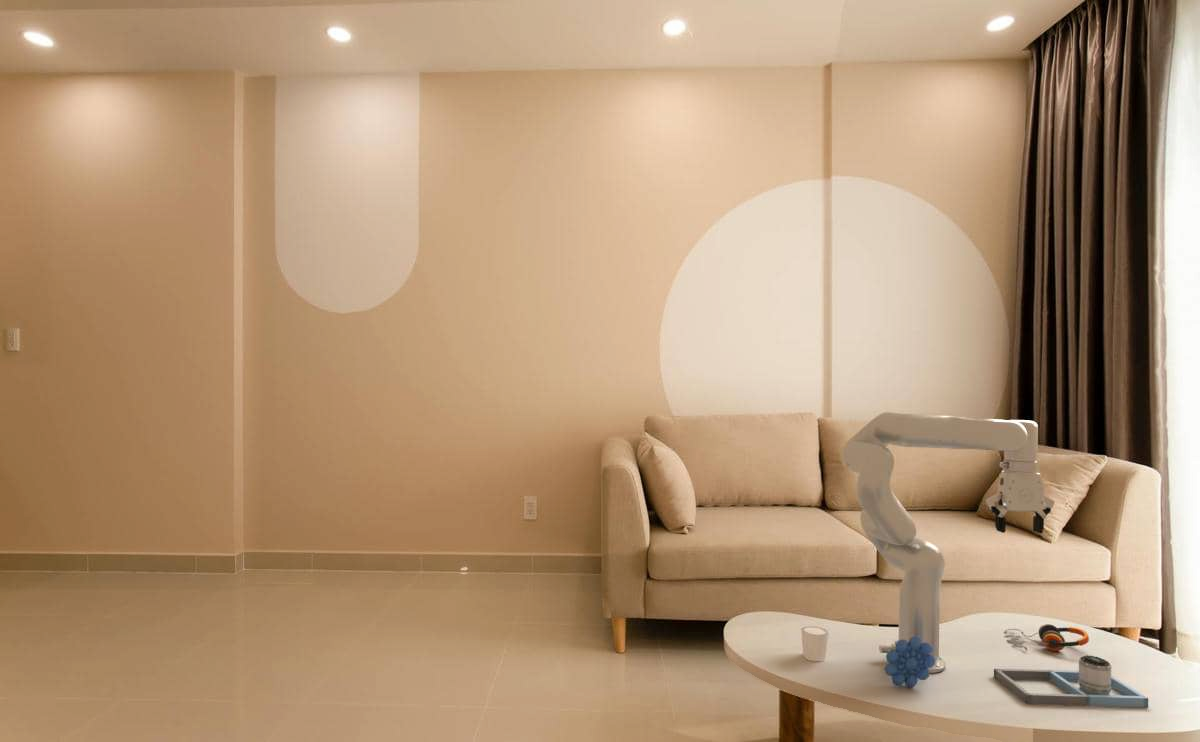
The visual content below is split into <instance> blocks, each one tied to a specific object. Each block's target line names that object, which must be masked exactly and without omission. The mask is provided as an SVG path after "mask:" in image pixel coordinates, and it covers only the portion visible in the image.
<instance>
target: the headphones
mask: <svg viewBox="0 0 1200 742" xmlns="http://www.w3.org/2000/svg"><path fill="white" fill-rule="evenodd" d="M1011 630H1013V631H1014V630H1015V631H1020V633H1021V635H1022V636H1023V637H1024V638H1025V639H1027V640H1030V641H1032V642H1037V643H1038V644H1039V643H1040V644H1042V645H1043V646H1044V647H1045V648H1046V649H1047V650H1049V651H1052V652H1060V651H1062V650H1063V649H1064V648H1066V647H1077V646H1084V645H1086V644H1087V643H1089V641H1090V640H1089V639H1090V637H1089V635H1088V633H1087V632H1086V631H1085V630H1084V629H1081V628H1078V627H1072V626H1069V627H1056V626H1055V625H1053V624H1050V623H1049V624H1042V625H1041V626H1040V627H1039V629H1038V632H1035V633H1034V634H1032V635H1026V634H1024V632H1023V631H1022V630H1021V629H1018V628H1008V629H1005V630H1004V634H1007V635H1003V637H1004V638H1010V640H1009V639H1006V642H1007V643H1008V644H1011V647H1013V648H1024V650H1025V651H1026V652H1027V651H1028V649H1027V647H1026V646H1023V645H1024V644H1026V641H1024V640H1023V641H1022V640H1021V641H1020V639H1021V638H1022V636H1019V635H1015V633H1013V632H1007V631H1011ZM1062 632H1063V633H1064V632H1066V633H1067V632H1068V633H1071V634H1076V635H1079V636H1082V637H1081V638H1080V639H1077V640H1076V641H1066V640H1065V638H1064V636H1063V635H1062V634H1061V633H1062ZM1008 634H1009V635H1008ZM1037 634H1038V636H1039V638H1040V640H1041V641H1039V640H1034V639H1031V637H1034V636H1035V635H1037ZM1029 637H1030V638H1029Z"/></svg>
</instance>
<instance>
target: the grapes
mask: <svg viewBox="0 0 1200 742" xmlns="http://www.w3.org/2000/svg"><path fill="white" fill-rule="evenodd" d="M898 640H899V639H898ZM898 640H897V641H898ZM895 647H896V650H890V651H889V652H888V653H886V655H885V658H886V661H887V662H888V663H887V664H886V665H885V667H884V673H885V674H886V675H887V676H888V677H891V681H892V683H893V684H894V685H895V686H902V685H903V684H904V685H905V686H906V687H908V688H913V687H915V686H916V685H917V684H918V682H919V681H925V680H927V679H928V678H929V677H930V675H931V673H930V672H929V669H928V668H930V667H932V666H933V665H934V664H935V658H934V656H933V655H930V653H931V652H932V646H931V644H929V643H922V642H921V639H920V638H919V637H912V638H911V639H910V640H909V642H907V641H906V640H903V639H901V640H899V641H898V642H897V643H896V645H895Z"/></svg>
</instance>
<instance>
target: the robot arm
mask: <svg viewBox="0 0 1200 742" xmlns="http://www.w3.org/2000/svg"><path fill="white" fill-rule="evenodd" d="M1038 440H1039V426H1038V424H1037V422H1035V421H1034V420H1025V419H1009V420H1005V419H998V418H996V419H994V418H983V419H974V418H968V417H963V416H962V417H961V416H957V415H956V416H954V415H945V414H944V415H943V414H942V415H941V414H939V415H938V414H916V413H915V414H913V413H900V412H899V413H898V412H891V411H890V412H889V411H887V412H883V413H880V414H878V415H876V416H875V417H874V418H872V419H871V420H870V421H869V422H868V423H867V424H865V425H864V426H863V427H862V428H861V429H860V430H859V431H857V433H855V434H854V435H853V436H852V437H850V439H849V440H847V442H845V444H844V445H843V447H842V448H841V452H840V460H841V462H842V464H843V466H844V467H845V468H846V469H847V470H849V471H851V472H853V473H857V474H858V478H857V482H856V490H855V491H856V498H857V500H858V502H859V503H858V504H860V506H861V508H862V510H861V513H860V515H859V516H860V517H859V520H860V525H861V528H862V530H863V532H864V534H865V535H866V536H867V538H868V539H869V541H870V542H871V543H872V545H873V546H874V548H875V549H877V551H878V553H879V554H880V555H881V556H882V558H883V559H884V560H885V561H886V562H887V563H888V564H889V565H890V566H892V567H894V568H897V569H899V571H902V572H904V575H903V579H902V581H901V583H900V586H899V592H898V593H899V594H898V640H894V643H892V644H891V645H886V644H880V645H879V646H878V650H879V652H880V654H887V653H888V652H889V651H890V650H896V647H895V645H896V643H897V642H898V641H899V640H901V639H903V640H906V641H907V642H909V640H910V639H911V638H912V637H919V638H920V639H921V642H922V643H929V644H931V646H932V652H931V653H930V655H933V656H934V658H935V664H934V665H933V666H932V667H930V668H928V669H929V672H930V674H932V673H933V674H934V673H939V672H943V671H944V670H945V669H946V661H945V660H944V659H943V658H942V657H940V621H941V620H940V617H941V614H940V612H941V611H940V610H941V609H940V608H941V607H940V605H941V601H940V598H941V586H942V579H943V576H944V571H945V564H946V563H945V558H944V555H943V553H942V551H941V550H940V549H939V548H938V547H937V546H936V545H934V544H932V543H931V542H929V541H926V540H925V539H922V538H919V537H916V536H917V527H916V523H915V521H914V520H913V518H912V516H911V515H910V514H909V513H908V511H907V510H906V509H905V508H904V506H903V505H902V503H901V501H899V499H898V498H897V496H896V494H895V493H894V492H893V490H892V487H891V477H892V474H893V472H894V468H895V458H894V455H893V453H892V451H891V450H890V449H889V448H887V447H888V446H889V445H892V446H897V447H901V448H902V447H904V448H926V449H927V448H929V449H930V448H933V449H949V450H950V449H951V450H977V451H978V450H980V451H981V450H983V451H995V452H996V451H998V452H999V451H1001V452H1003V451H1004V452H1003V453H1004V454H1003V455H1004V456H1003V457H1004V459H1003V462H1002V461H1001V462H999V467H1000V468H1002V469H1003V470H1002V471H1001V473H1000V476H999V479H998V481H999V482H998V486H997V487H998V488H997V493H996V494H993V495H992V496H989V497H987V498H986V499H985V503H986V505H987V506H988V509H989V511H991V512H992V514H993V516H995V521H994V523H995V530H996V531H997V532H999V533H1006V527H1007V526H1006V525H1007V523H1006V517H1004V516H1005V515H1006V514H1007V513H1008V511H1009V512H1010V511H1011V512H1027V513H1028V512H1029V513H1030V512H1031V513H1032V512H1033V513H1034V515H1033V518H1032V521H1033V522H1032V530H1033V531H1034V532H1035V533H1038V534H1043V533H1044V528H1045V527H1044V526H1045V519H1047V515H1049V513H1051V511H1052V509H1053V507H1054V505H1055V501H1054V500H1053V499H1051V498H1048V497H1047V496H1045V492H1044V491H1045V490H1044V483H1043V479H1042V475H1041V473H1040V472H1038V453H1039V452H1038V447H1039V445H1038V444H1039V441H1038ZM996 502H997V507H996V505H995V503H996Z"/></svg>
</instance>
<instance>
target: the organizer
mask: <svg viewBox="0 0 1200 742" xmlns="http://www.w3.org/2000/svg"><path fill="white" fill-rule="evenodd" d="M993 677H994V678H995V679H996V680H997V681H998V682H1000V683H1001V684H1002V685H1003V686H1004V687H1006V688H1008V690H1009V691H1011V692H1012V693H1014V694H1015V696H1017V697H1018V698H1019V699H1020V700H1022V701H1023V702H1025V704H1027V705H1052V706H1054V705H1056V706H1057V705H1058V706H1063V705H1064V706H1086V705H1088V706H1089V705H1093V706H1092V707H1094V706H1096V707H1097V706H1098V707H1122V708H1123V707H1124V708H1125V707H1129V708H1131V707H1132V708H1135V707H1136V708H1137V707H1138V708H1149V697H1147V696H1146V695H1144V694H1142V693H1140V692H1139V691H1137V690H1136V689H1134V688H1133V687H1131V686H1129V685H1127V684H1126V683H1124V682H1123V681H1121V680H1120V679H1118V678H1116V677H1114V676H1113V675H1111V688H1113V689H1114V690H1116V691H1118V692H1120V693H1121V694H1122V695H1110V694H1109V695H1088V694H1086V693H1084V692H1082V691H1081V690H1080V688H1078V687H1077V686H1075V685H1074V684H1072V683H1071V682H1069V681H1073V682H1074V681H1077V682H1079V670H1059V669H1058V670H1057V669H1056V670H1055V669H1054V670H1053V669H1029V668H1027V669H1022V668H1021V669H1020V668H1019V669H1018V668H993ZM1014 680H1038V681H1039V680H1042V681H1051V682H1052V683H1054V685H1056V686H1058V687H1059V688H1060V689H1061V690H1063V691H1064V692H1066V693H1042V692H1040V693H1038V692H1037V693H1036V692H1029V691H1027V690H1026V689H1025V688H1024V687H1022V686H1021V685H1019V684H1018V683H1017V682H1016V681H1014Z"/></svg>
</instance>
